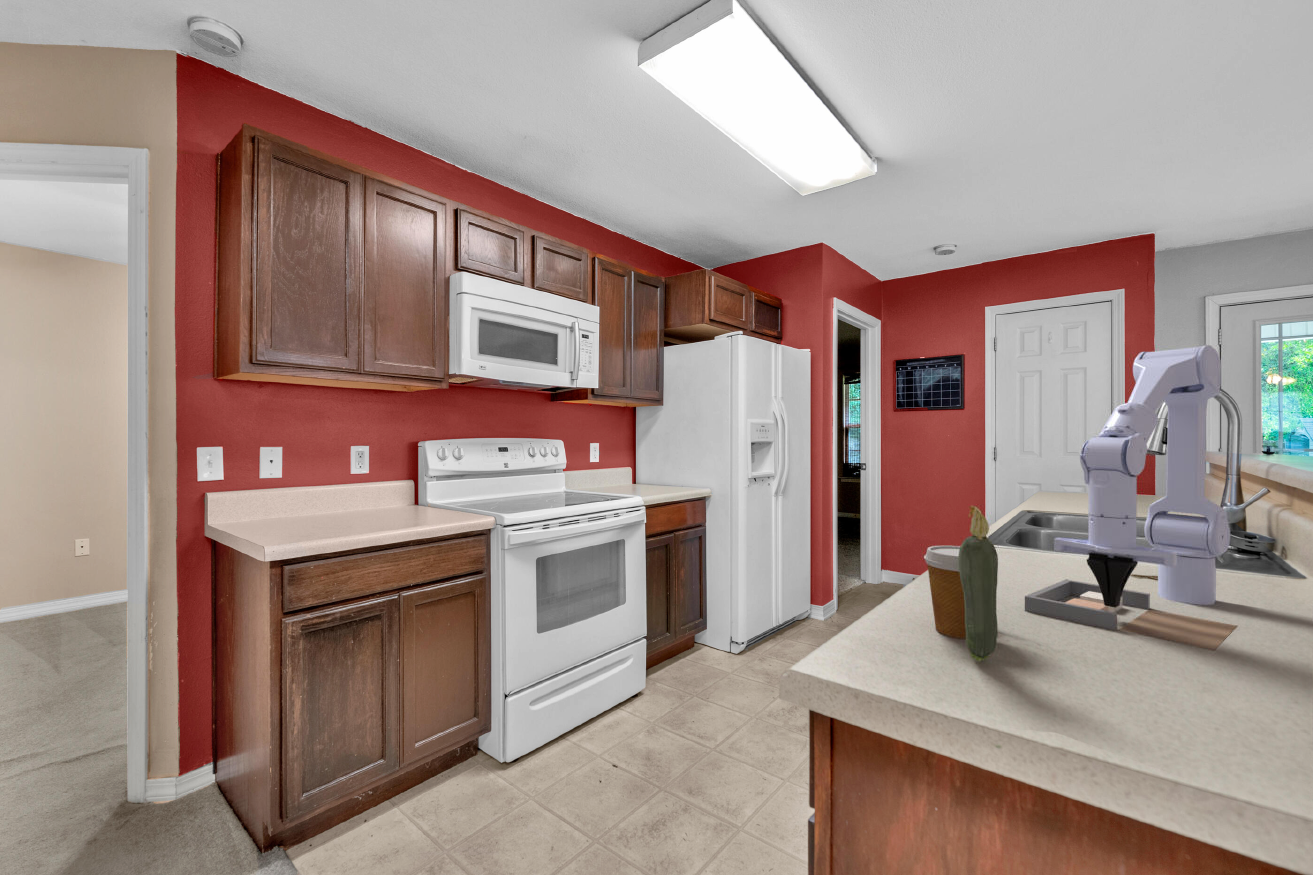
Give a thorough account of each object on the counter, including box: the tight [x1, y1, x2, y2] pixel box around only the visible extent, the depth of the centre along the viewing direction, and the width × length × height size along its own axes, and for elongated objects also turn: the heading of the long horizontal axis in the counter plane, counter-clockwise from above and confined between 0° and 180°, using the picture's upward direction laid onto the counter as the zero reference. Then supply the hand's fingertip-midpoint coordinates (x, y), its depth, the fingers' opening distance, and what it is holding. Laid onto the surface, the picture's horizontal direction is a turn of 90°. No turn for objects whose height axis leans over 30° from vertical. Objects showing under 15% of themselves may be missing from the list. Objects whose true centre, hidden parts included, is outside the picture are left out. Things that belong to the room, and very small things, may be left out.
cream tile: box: [1079, 591, 1123, 613], centre depth 94 cm, size 4×4×2 cm
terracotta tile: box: [1064, 598, 1108, 611], centre depth 89 cm, size 4×4×2 cm
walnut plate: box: [1118, 608, 1238, 651], centre depth 84 cm, size 16×10×1 cm, turn 127°
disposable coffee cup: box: [923, 545, 966, 640], centre depth 85 cm, size 10×10×12 cm
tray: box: [1024, 578, 1151, 632], centre depth 92 cm, size 18×12×4 cm, turn 127°
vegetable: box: [959, 505, 999, 663], centre depth 73 cm, size 4×4×20 cm
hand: (1111, 605), depth 87 cm, fingers closed
